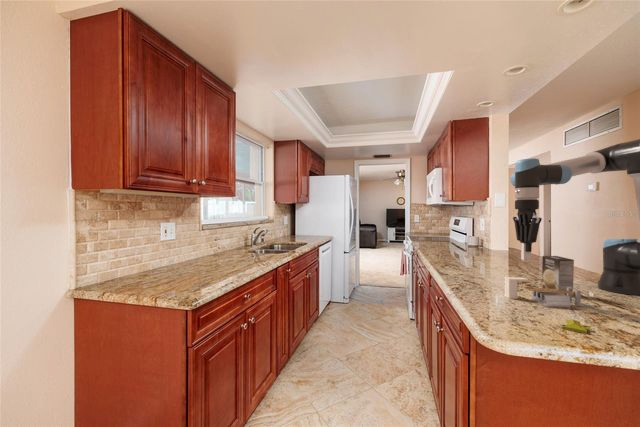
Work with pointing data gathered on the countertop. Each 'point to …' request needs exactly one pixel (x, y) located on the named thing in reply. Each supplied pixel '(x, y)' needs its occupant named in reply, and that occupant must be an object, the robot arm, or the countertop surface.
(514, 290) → the cream l-shaped bracket
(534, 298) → the heatsink
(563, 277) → the coffee box
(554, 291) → the strap
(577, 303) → the board
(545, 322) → the countertop surface
